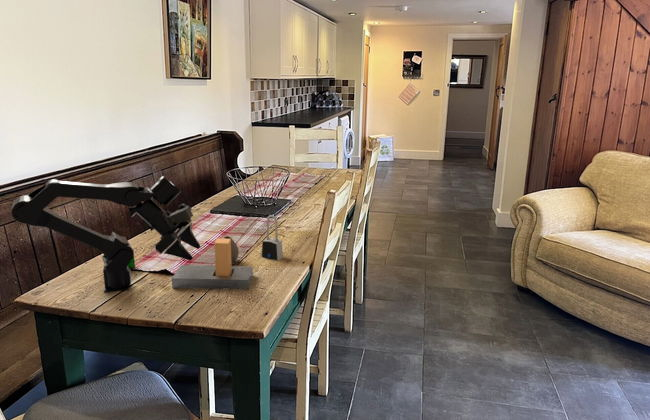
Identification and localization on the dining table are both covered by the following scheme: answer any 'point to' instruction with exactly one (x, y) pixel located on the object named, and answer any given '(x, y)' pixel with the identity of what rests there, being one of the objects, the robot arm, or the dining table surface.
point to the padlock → (272, 244)
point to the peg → (223, 257)
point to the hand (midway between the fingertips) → (195, 253)
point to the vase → (233, 250)
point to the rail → (211, 277)
